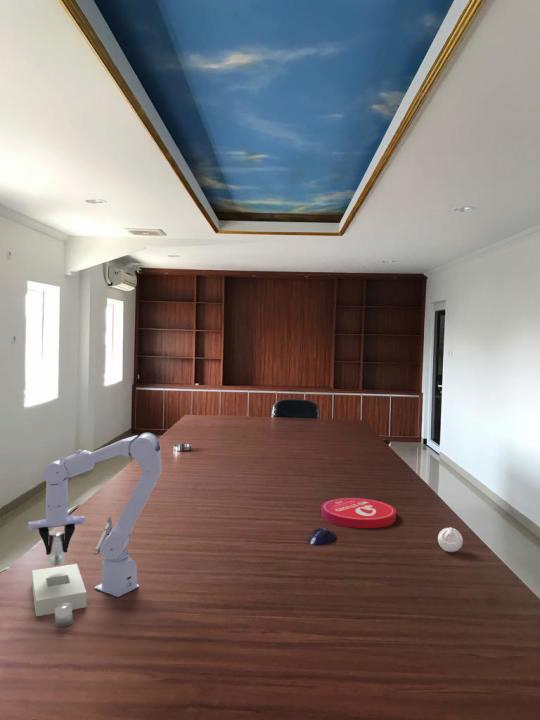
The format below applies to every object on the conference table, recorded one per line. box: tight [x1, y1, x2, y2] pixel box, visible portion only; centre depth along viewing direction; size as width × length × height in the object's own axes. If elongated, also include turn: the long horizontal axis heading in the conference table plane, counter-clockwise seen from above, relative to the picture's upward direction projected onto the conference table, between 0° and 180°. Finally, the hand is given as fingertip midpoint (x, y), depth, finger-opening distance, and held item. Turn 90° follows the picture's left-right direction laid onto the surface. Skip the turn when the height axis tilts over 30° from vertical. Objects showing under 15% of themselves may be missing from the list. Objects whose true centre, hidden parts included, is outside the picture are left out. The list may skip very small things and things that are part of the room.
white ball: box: [437, 527, 464, 553], centre depth 185 cm, size 8×8×8 cm
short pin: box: [54, 603, 74, 628], centre depth 133 cm, size 4×4×4 cm
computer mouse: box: [306, 527, 337, 547], centre depth 195 cm, size 9×15×4 cm, turn 141°
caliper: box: [93, 516, 113, 555], centre depth 187 cm, size 20×1×6 cm, turn 3°
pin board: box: [31, 563, 87, 617], centre depth 147 cm, size 20×12×4 cm, turn 26°
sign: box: [320, 497, 397, 529], centre depth 222 cm, size 30×4×30 cm
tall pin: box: [48, 531, 65, 567], centre depth 152 cm, size 4×4×8 cm
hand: (56, 552), depth 152 cm, fingers closed on tall pin, 4 cm apart
